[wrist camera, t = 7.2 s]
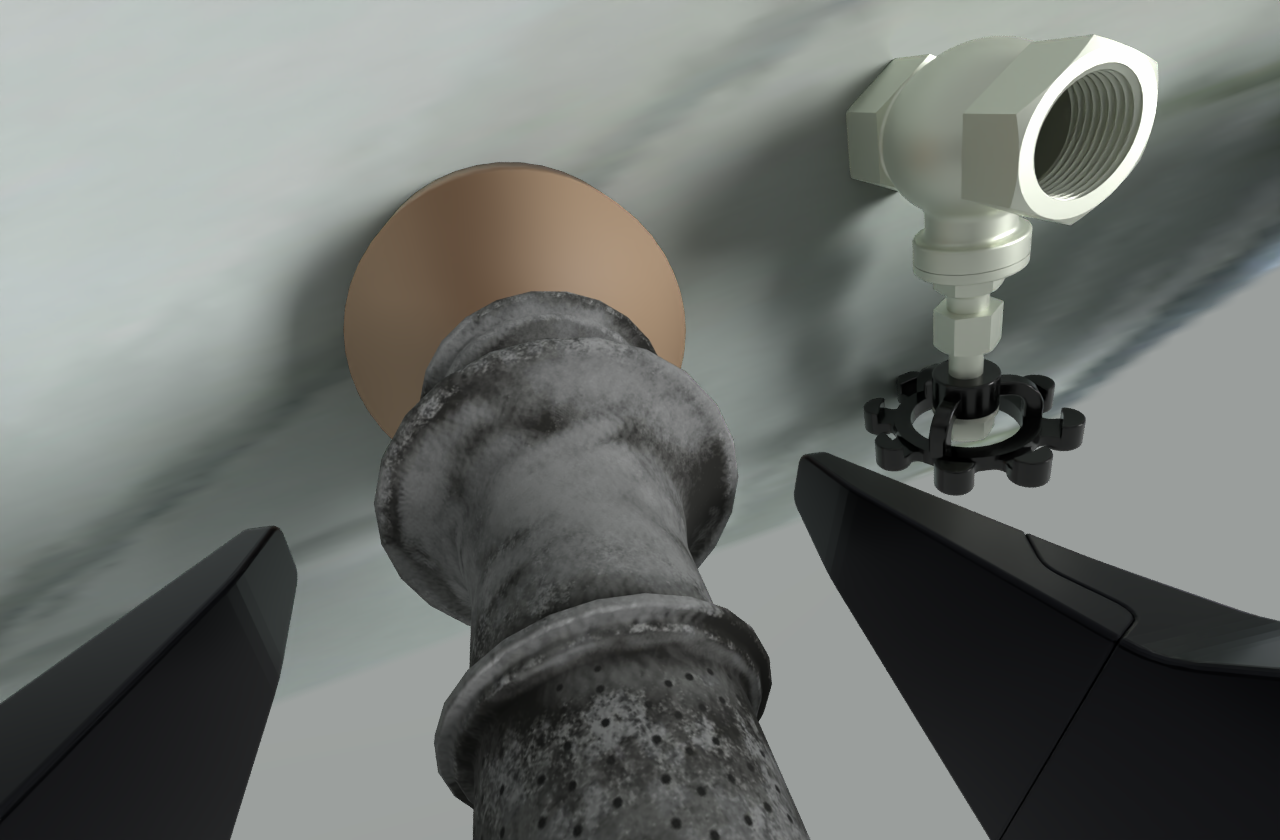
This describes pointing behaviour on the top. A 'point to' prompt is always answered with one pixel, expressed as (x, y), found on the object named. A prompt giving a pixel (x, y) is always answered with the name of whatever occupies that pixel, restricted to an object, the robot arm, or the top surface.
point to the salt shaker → (581, 583)
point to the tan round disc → (495, 271)
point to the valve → (992, 221)
